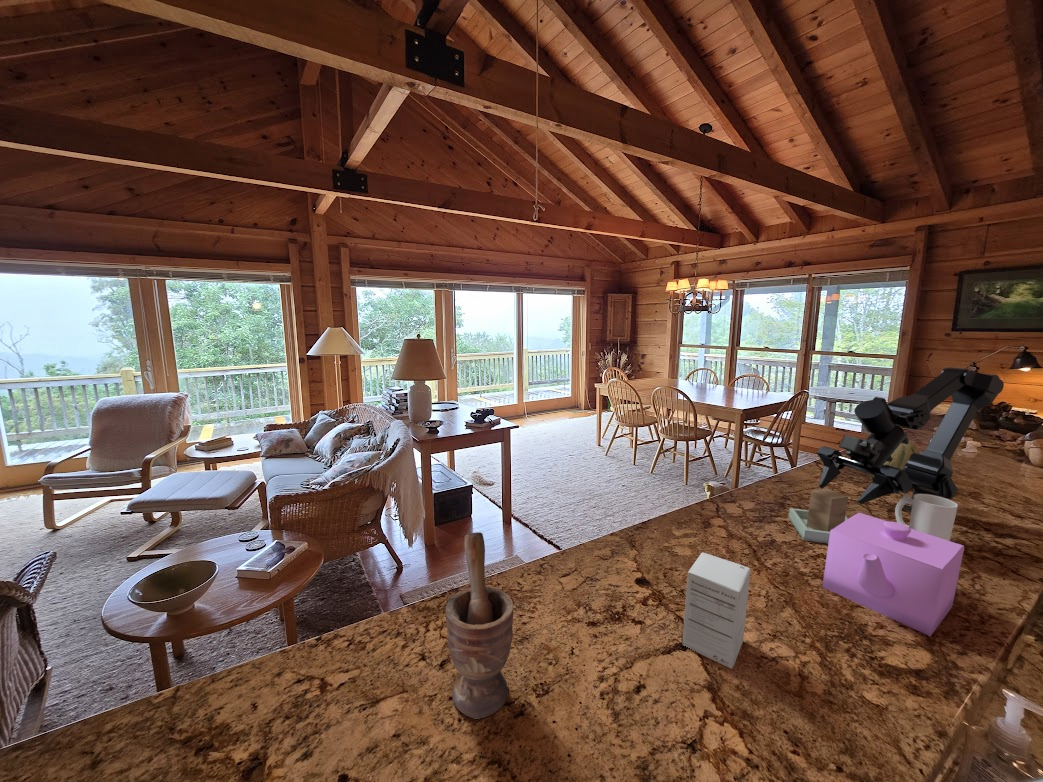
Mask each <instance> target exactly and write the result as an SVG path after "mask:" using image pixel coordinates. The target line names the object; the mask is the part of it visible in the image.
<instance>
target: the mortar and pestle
mask: <svg viewBox="0 0 1043 782" xmlns="http://www.w3.org/2000/svg"><path fill="white" fill-rule="evenodd" d="M463 543H464V553H465V559H466V566H467V572H468V577H469V586H470V587H467V588H464V589H462V590H460V591H458V592H457V593H455V594H454V595H453V596H452V597H450V598H449V600H448V602H447V603H446V606H445V615H446V631H447V632H446V633H447V636H446V637H447V645H448V650H449V656H450V658H451V660H452V663H453V666H454V668H455V670H456V671H457V672H458V673H459V674H458V676H457V677H456V679H455V681H454V684H453V688H452V692H451V693H452V695H451V696H452V702H453V704H454V706H455V707H456V709H457V710H458V711H459V712H461V713H462V714H463V715H465V716H466V717H469V718H471V719H473V718H474V719H473V720H475V719H478V718H481V719H484V718H487V717H489V716H492V715H493V714H494V713H497V711H499V710H501V709H502V707H504V706H505V704H506V703H507V700H508V698H507V696H509V689H508V688H509V687H508V683H507V680H506V678H505V676H504V675H503V674H502V670H503V668H505V665H506V664H507V661H508V658H509V654H510V652H511V649H512V648H511V647H512V642H513V635H514V634H513V632H514V631H513V629H514V628H513V622H514V603H513V600H512V599H511V597H510V596H509V595H508V593H507V592H505V591H502V590H501V589H499V588H496V587H491V586H490V587H489V586H486V578H485V576H486V575H485V569H486V568H485V562H486V559H485V558H486V547H485V545H486V544H485V539H484V533H482V532H480V531H479V532H470V533H466V534H465V535H464V541H463ZM505 702H506V703H505Z"/></svg>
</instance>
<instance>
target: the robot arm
mask: <svg viewBox="0 0 1043 782" xmlns="http://www.w3.org/2000/svg"><path fill="white" fill-rule="evenodd" d="M1004 385H1005V383H1004V380H1002V379H1001V378H1000V377H999V375H998V374H991V373H981V372H977V371H975V370H971V369H969V368H961V367H954V366H953V367H952V366H951V367H950V366H949V367H944V368H942V370H941V372H940V374H939V375H937V376H935V377H934V378H932V380H931V381H929V382H928V383H927V384H925V385H924V386H923V387H921V388H919V389H918V390H916V392H914V393H913V394H910V395H907V396H902V397H898V398H895V399H894V400H891V401H890V402H887V400H886V398H885V397H879V396H875V397H873V398H872V399H869V400H866V401H863V402H860V403H858V404H857V405H856V407H855V408H854V415H855V416H856V417H857V419H858V421H859V422H860V423H861V425H862V426H863V428H864V430H865V431H866V432H868V433H869V434H868V436H867V437H866V438H862V437H861V438H858V437H855V436H851V435H847V434H843V436H842V438H841V440H840V443H839V444H838V448H839V449H844V450H846V452H845V454H846V455H847V456H849V457H850V458H847V457H845V456H843V454H842V453H841V451H840V450H839V449H836V448H832V447H828V446H824V445H823V446H821V447H820V448H819V449H818V450H817V452H816V454H817V456H818V457H819V459H820V461H821V462H822V463H823V465H822V471H821V472H822V473H821V477H820V481H819V483H818V484H819V485H818V487H819V489H825V488H826V487H827V486H828V485H829V484H830V483H832V481H833V480H835V479H836V478H837V477H838V476H839V475H840V474H841V471H840V470H843V469H844V468H845V467H847V468H850V469H853V470H856V471H859V472H862V473H864V474H868V475H869V474H870V475H869V476H871V475H874V477H873V479H872V482H870V484H869V485H868V487H866V489H865V490H864V491H863V493H862V494H861V495H860V497H859V498H858V499H857V503H858V504H859V505H864V504H866V503H867V502H868V503H869V502H871V501H873V500H875V499H879V498H882V497H885V496H887V495H888V496H889V495H891V494H896V495H898V494H899V493H901V494H902V493H903V494H904V495H907V494H908V493H909V492H910V491H911V489H912V495H911V498H912V499H913V498H914V495H915V494H928V495H934V496H939V497H942V498H946V499H949V500H953V499H954V498H955V496H956V494H957V492H958V487H957V485H956V484H955V482H954V481H953V479H952V477H953V474H954V470H953V466H952V462H951V459H952V457H953V455H954V454H955V452H956V451H957V448H958V447H959V445H960V443H961V441H962V439H963V438H964V435H965V434H966V432H967V430H968V429H969V427H970V425H971V423H972V422H973V420H974V418H975V417H976V414H977V413H978V411H979V410H981V409H982V408H983V407H986V406H988V405H990V404H992V403H993V402H994V401H995V399H996V398H997V396H998V395H999V394H1000V393H1001V392H1002V391H1003V389H1004V387H1005V386H1004ZM950 397H951V399H952V402H951V404H950V406H949V407H948V409H947V410H946V412H945V414H944V416H943V418H942V420H941V421H940V424H939V425H938V428H937V429H936V431H935V432H934V434H933V436H932V438H931V440H930V441H929V443H928V445H927V447H926V449H925V450H923V451H921V452H919V454H918V453H913V454H912V455H911V456H910V459H909V461H908V462H907V463H906V464H905V467H904V469H903V470H902V469H899V468H896V467H892V466H889V465H883V464H884V463H885V462H886V461H888V462H891V461H892V460H893V458H892V457H891V455H892V453H893V452H894V451H895V450H896V449H897V447H898V446H899V445H900V444H901V443H903V444H908V443H909V441H910V440H909V437H908V432H906V431H905V430H904V428H905V429H909V430H915V431H917V430H918V431H919V430H920V429H921V428H923V427H924V426H925V425H926V424H927V422H928V421H930V420H931V418H932V415H931V414H932V413H931V411H932V410H934V409H935V408H936V407H938V406H939V405H940V404H942V403H943V402H944V401H945V400H947V399H948V398H950ZM902 508H903V509H905V510H906V511H908V512H909V513H910V514H911V510H912V505H911V504H909V505H907V504H905V505H904V506H903V507H902Z"/></svg>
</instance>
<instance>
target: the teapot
mask: <svg viewBox="0 0 1043 782" xmlns="http://www.w3.org/2000/svg"><path fill="white" fill-rule="evenodd" d="M827 545H828V546H827V552H826V557H825V564H824V565H825V566H824V571H823V572H824V573H823V580H822V587H821V588H824V589H826V590H828V591H830V592H832V593H835V594H837V595H839V596H841V597H844V598H845V599H848V600H849V601H852V602H854V603H857V604H859V606H863V607H865V608H868V609H869V610H871V611H874V612H875V613H878V614H880V615H883V616H884V617H886V618H889V619H891V620H893V621H895V620H896V621H895V622H897V623H900V624H901V625H904V626H906V627H907V628H911V629H913V630H915V631H917V632H919V633H922V634H924V635H926V636H928V637H931V636H932V635H933V634H934V632H935V631H936V630H937V628H938V627H939V626H940V624H941V623H942V621H943V620H944V619H945V618H946V616H947V615H948V614H949V612H950V610H951V609H952V608H953V605H954V600H955V596H956V590H957V585H958V580H959V575H960V571H961V565H962V562H963V561H962V560H963V556H964V551H965V546H964V545H962V544H960V543H956V542H953V541H951V540H950V541H948V540H945V539H941V538H938V537H935V536H932V535H929V534H926V533H922V532H919V531H916V530H914V529H911V528H909V527H907V526H905V525H903V524H900V523H897V521H887V520H884V519H880V518H878V517H875V516H871V515H868V514H865V513H861V512H857V513H856V514H854V515H853V516H851V517H849V518H848V520H846V521H844V522H843V523H841V524H840V525H838V526H837V527H835V528H834V529H832V530H831V531H830V537H829V544H827Z"/></svg>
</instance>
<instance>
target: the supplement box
mask: <svg viewBox="0 0 1043 782" xmlns="http://www.w3.org/2000/svg"><path fill="white" fill-rule="evenodd" d="M751 571H752V570H751V568H750V567H748V566H745V565H742V564H740V563H736V562H733V561H730V560H728V559H724V558H720V557H719V556H715V555H713V554H708V553H706V552H703V551H702V552H701V553H700V554H699V556H698V557H697V558H696V560H695V562H694V563H693V564H692V566H691V567H690V569H689V570H688V572H687V583H686V593H685V605H684V607H685V608H684V619H683V632H682V646H684V647H685V646H686V648H687V647H688V648H687V649H689V648H690V649H689V650H691V649H692V650H691V651H693V650H694V652H695V651H696V652H695V653H697V654H699V655H701V656H703V657H706V658H708V659H710V660H712V661H714V662H716V663H719V664H721V665H722V666H725V667H727V668H729V669H733V668H734V665H735V664H736V661H737V658H738V656H739V653H740V650H741V648H742V645H743V643H744V640H745V639H744V637H745V628H746V627H745V626H746V619H747V617H746V616H747V609H748V608H747V607H748V601H749V600H748V598H749V591H750V589H749V588H750V580H751V579H750V578H751Z"/></svg>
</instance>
